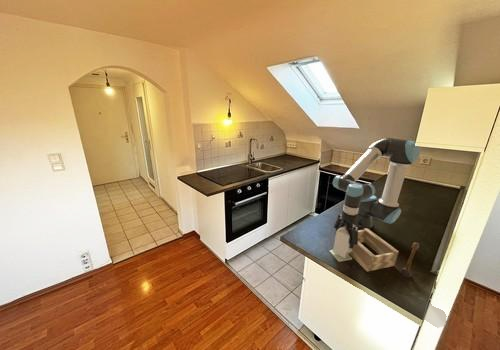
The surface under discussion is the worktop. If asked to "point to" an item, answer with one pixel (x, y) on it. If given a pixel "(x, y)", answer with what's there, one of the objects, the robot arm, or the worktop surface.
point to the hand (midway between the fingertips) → (342, 246)
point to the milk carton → (341, 242)
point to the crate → (378, 245)
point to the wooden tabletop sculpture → (409, 262)
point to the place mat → (340, 257)
